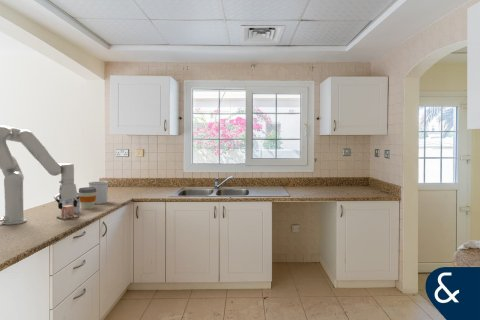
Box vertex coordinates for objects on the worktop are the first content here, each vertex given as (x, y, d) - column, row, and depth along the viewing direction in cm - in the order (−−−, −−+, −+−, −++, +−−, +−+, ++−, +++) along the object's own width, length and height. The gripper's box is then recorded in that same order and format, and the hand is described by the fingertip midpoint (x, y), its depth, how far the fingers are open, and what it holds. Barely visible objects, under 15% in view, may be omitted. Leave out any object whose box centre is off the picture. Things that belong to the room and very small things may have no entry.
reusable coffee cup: (91, 209, 250) (91, 189, 249) (75, 209, 250) (75, 189, 249) (99, 206, 262) (99, 187, 262) (83, 205, 263) (83, 187, 262)
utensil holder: (92, 201, 284) (92, 180, 283) (110, 201, 286) (110, 180, 285) (86, 204, 269) (86, 182, 269) (105, 204, 271) (105, 183, 270)
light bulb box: (75, 211, 243) (75, 196, 242) (80, 212, 238) (80, 197, 238) (60, 213, 234) (60, 198, 234) (64, 214, 230) (64, 199, 230)
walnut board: (64, 220, 214) (64, 218, 214) (56, 218, 220) (56, 216, 220) (79, 217, 222) (79, 216, 222) (71, 215, 228) (71, 214, 228)
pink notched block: (65, 217, 217) (65, 207, 217) (61, 216, 220) (61, 206, 220) (74, 216, 221) (74, 205, 221) (69, 215, 225) (69, 204, 224)
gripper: (57, 183, 211) (57, 210, 211) (83, 181, 225) (83, 206, 225) (51, 182, 215) (51, 208, 216) (77, 180, 229) (77, 205, 230)
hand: (67, 207), depth 221 cm, fingers open, 9 cm apart
